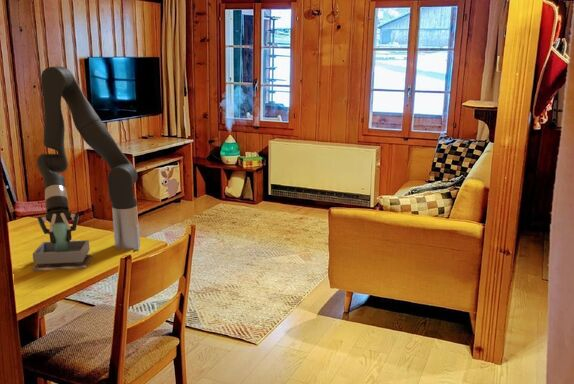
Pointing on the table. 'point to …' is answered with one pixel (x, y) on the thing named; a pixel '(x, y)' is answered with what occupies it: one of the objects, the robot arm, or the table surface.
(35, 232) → the table surface
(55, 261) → the grey shallow tray
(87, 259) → the rail board
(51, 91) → the robot arm
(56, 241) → the teal rectangular block
